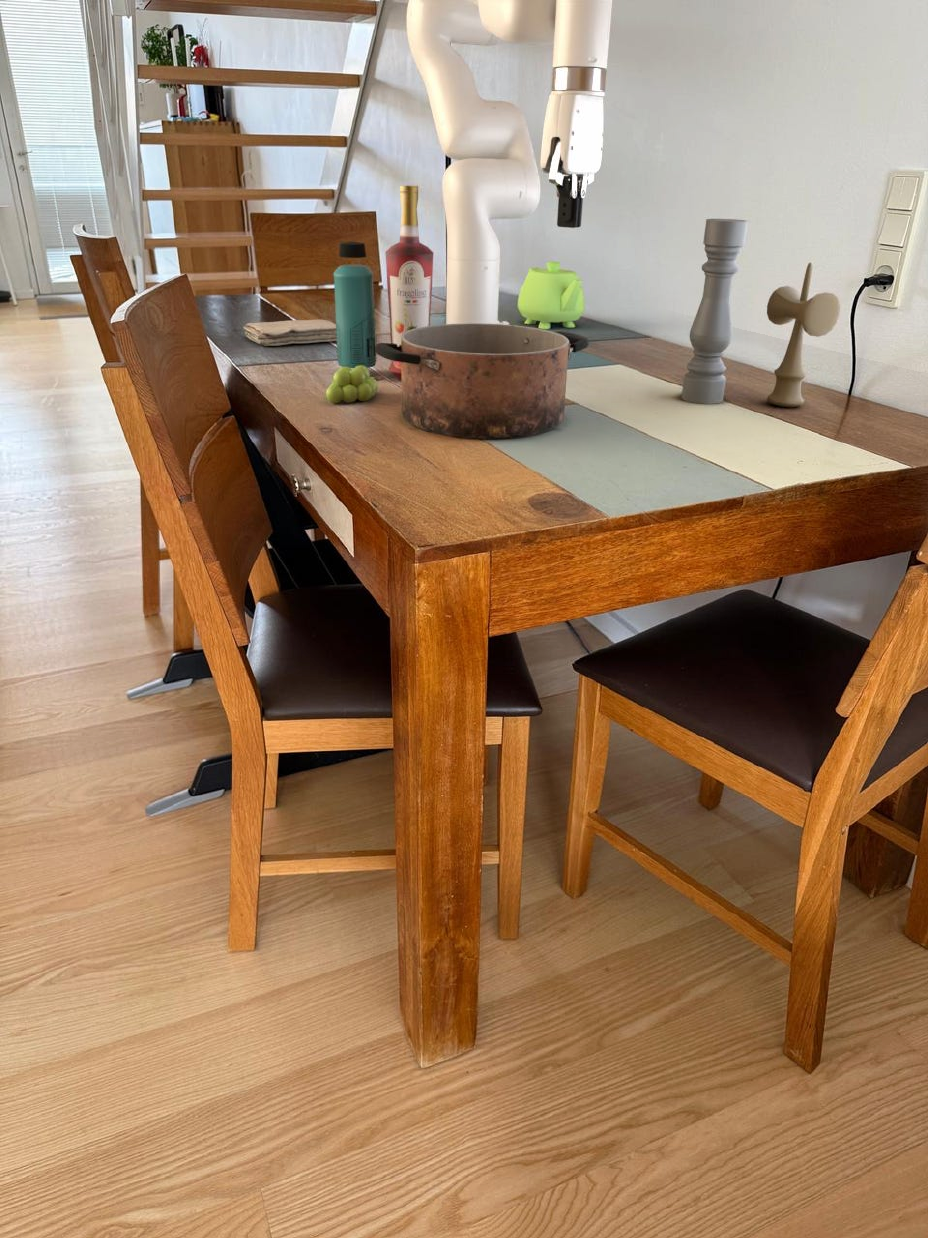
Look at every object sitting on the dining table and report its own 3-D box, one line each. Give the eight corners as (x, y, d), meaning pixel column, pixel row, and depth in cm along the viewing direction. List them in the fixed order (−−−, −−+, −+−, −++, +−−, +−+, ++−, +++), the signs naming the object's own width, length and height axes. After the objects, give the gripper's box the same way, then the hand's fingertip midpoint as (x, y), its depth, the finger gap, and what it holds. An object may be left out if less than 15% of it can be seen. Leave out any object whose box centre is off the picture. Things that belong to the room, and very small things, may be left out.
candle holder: (724, 396, 141) (751, 219, 130) (720, 405, 136) (748, 222, 125) (683, 392, 143) (706, 217, 132) (678, 401, 138) (702, 220, 126)
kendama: (788, 414, 132) (815, 266, 123) (748, 398, 140) (771, 258, 131) (822, 411, 134) (851, 265, 125) (780, 396, 142) (805, 258, 133)
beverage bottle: (370, 379, 146) (367, 244, 137) (331, 376, 148) (325, 242, 138) (382, 370, 152) (379, 240, 143) (343, 368, 153) (338, 239, 144)
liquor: (389, 382, 145) (386, 186, 132) (385, 372, 151) (382, 184, 138) (435, 381, 146) (436, 187, 133) (429, 371, 152) (430, 185, 139)
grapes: (367, 386, 142) (366, 357, 140) (401, 394, 138) (401, 363, 136) (311, 400, 133) (310, 369, 131) (346, 408, 130) (345, 376, 128)
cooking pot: (536, 390, 142) (540, 318, 137) (618, 426, 124) (626, 345, 119) (352, 407, 130) (349, 329, 125) (414, 450, 112) (414, 361, 107)
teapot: (602, 330, 191) (607, 266, 185) (545, 334, 186) (550, 268, 180) (553, 315, 207) (557, 256, 201) (500, 318, 202) (503, 257, 196)
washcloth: (241, 337, 176) (239, 320, 175) (329, 330, 184) (328, 314, 182) (260, 348, 167) (259, 330, 165) (352, 341, 175) (351, 324, 173)
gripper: (582, 88, 136) (573, 223, 144) (526, 81, 125) (519, 227, 133) (628, 87, 132) (615, 226, 140) (573, 80, 121) (563, 231, 129)
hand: (568, 226), depth 137 cm, fingers closed
